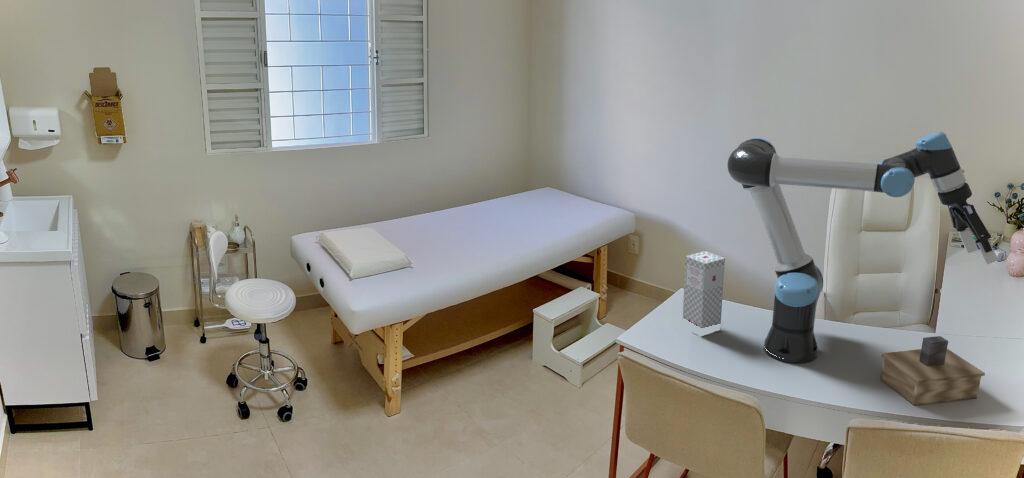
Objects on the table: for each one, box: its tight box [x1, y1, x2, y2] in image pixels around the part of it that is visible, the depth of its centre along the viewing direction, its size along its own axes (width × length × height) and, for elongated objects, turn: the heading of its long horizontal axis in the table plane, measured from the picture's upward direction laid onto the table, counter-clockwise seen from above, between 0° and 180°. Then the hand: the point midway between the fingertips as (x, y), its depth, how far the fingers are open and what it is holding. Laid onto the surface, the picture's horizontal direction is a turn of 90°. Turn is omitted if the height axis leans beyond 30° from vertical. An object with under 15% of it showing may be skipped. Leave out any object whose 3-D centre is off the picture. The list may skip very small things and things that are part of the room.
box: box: [682, 250, 726, 328], centre depth 228 cm, size 8×8×25 cm
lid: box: [880, 335, 986, 383], centre depth 190 cm, size 19×15×8 cm
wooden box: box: [880, 357, 982, 406], centre depth 192 cm, size 18×14×7 cm
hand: (982, 256), depth 196 cm, fingers open, 13 cm apart
